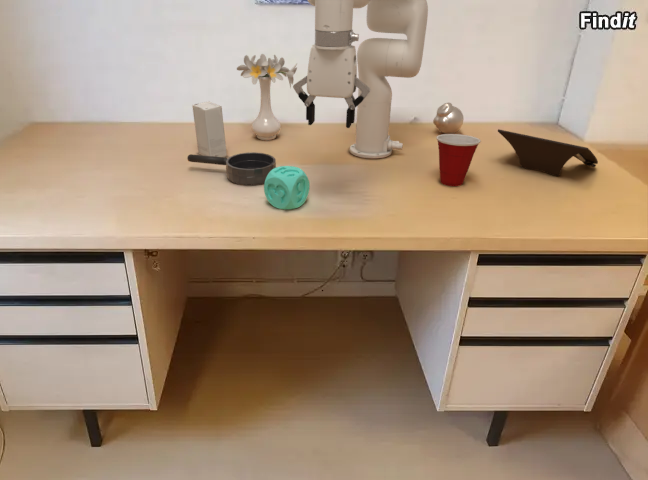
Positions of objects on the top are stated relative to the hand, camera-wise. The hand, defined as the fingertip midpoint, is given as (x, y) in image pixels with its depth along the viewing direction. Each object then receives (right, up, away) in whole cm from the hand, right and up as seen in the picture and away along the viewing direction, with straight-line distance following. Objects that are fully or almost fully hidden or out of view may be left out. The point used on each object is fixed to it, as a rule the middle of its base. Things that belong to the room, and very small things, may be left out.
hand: (329, 124), depth 121 cm
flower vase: (-15, +11, +57) cm, 60 cm away
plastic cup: (+34, -9, +23) cm, 42 cm away
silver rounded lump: (+43, +12, +58) cm, 73 cm away
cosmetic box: (-32, +2, +43) cm, 53 cm away
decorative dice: (-9, -16, +13) cm, 22 cm away
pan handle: (-31, -3, +29) cm, 43 cm away
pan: (-19, -7, +28) cm, 34 cm away
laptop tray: (+63, -3, +32) cm, 71 cm away
